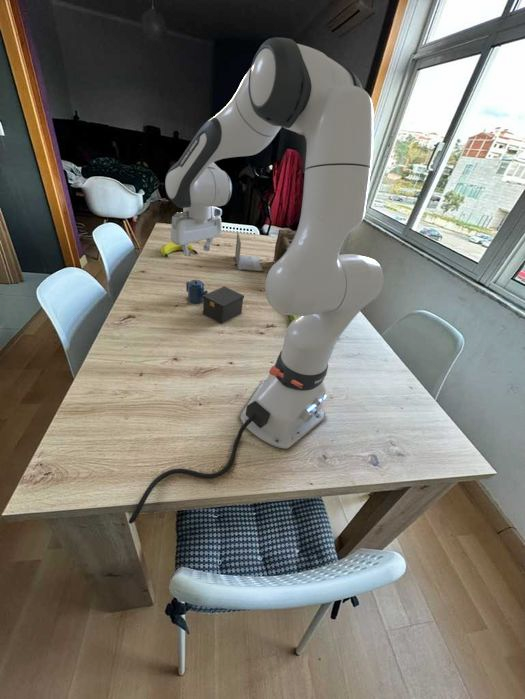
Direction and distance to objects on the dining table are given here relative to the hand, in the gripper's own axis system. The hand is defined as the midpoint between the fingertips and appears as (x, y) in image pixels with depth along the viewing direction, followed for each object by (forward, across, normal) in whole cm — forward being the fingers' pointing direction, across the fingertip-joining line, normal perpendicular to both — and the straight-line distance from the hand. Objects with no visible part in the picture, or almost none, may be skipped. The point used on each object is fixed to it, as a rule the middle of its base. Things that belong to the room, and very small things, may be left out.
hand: (197, 253), depth 102 cm
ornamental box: (+18, +54, -13) cm, 58 cm away
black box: (+18, 0, -13) cm, 23 cm away
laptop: (+18, +47, +10) cm, 52 cm away
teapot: (+18, 0, 0) cm, 18 cm away
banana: (+18, +27, +39) cm, 51 cm away
